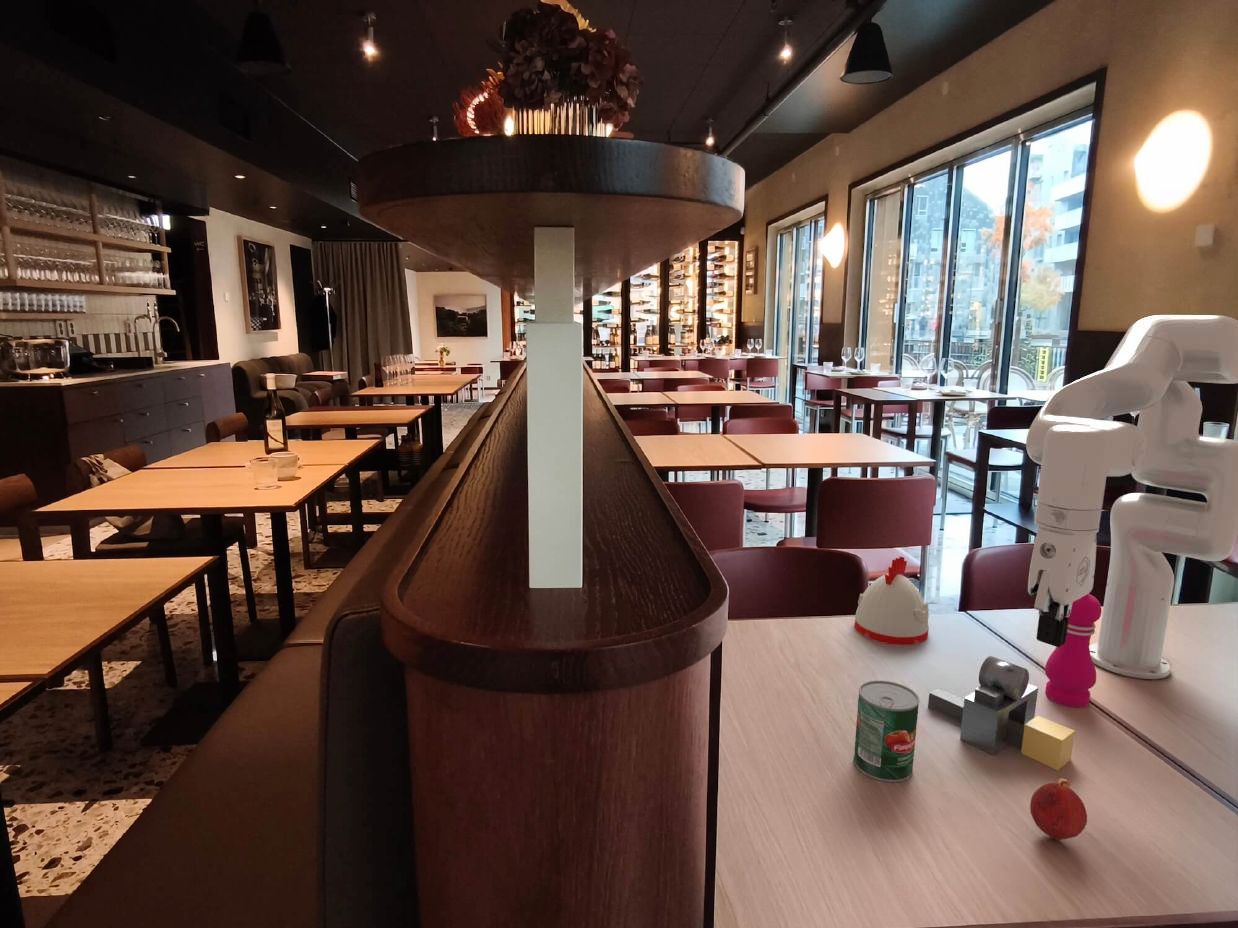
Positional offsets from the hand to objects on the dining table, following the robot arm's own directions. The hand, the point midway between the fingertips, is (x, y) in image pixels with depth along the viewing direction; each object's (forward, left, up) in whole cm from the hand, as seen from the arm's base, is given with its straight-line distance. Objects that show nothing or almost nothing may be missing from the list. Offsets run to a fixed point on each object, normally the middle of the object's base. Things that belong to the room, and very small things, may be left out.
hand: (1050, 642), depth 103 cm
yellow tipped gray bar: (0, -6, -17) cm, 18 cm away
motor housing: (0, -6, -17) cm, 18 cm away
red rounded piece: (+17, +10, -17) cm, 26 cm away
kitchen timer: (-20, -37, -17) cm, 46 cm away
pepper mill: (-20, -4, -17) cm, 27 cm away
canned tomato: (+21, -11, -17) cm, 29 cm away
